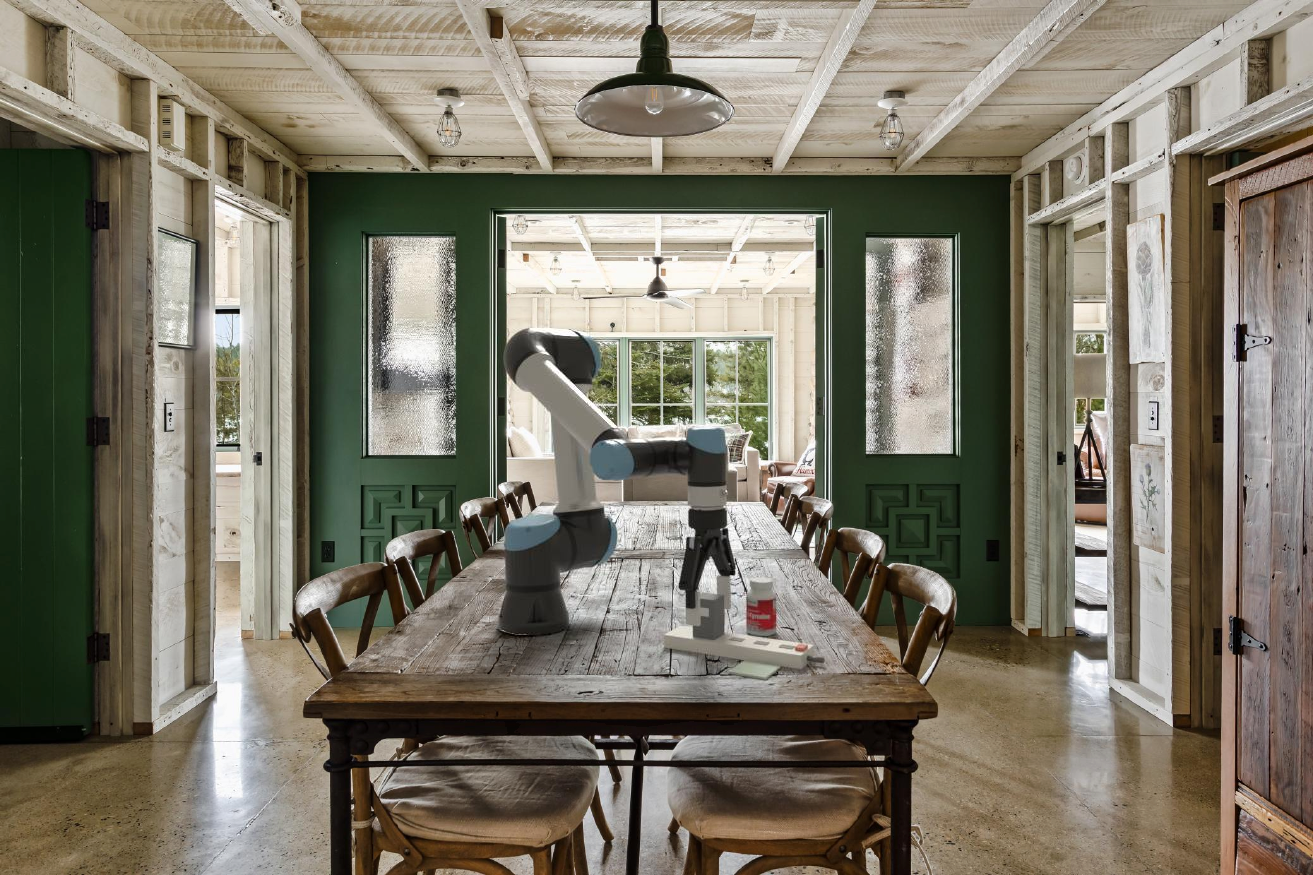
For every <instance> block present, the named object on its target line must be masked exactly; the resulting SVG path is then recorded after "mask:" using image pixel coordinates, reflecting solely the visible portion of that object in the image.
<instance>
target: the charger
mask: <svg viewBox="0 0 1313 875" xmlns="http://www.w3.org/2000/svg"><path fill="white" fill-rule="evenodd" d="M700 620H701V625H700V626H693V625H692V628H693V637H696V638H703V639H709V640H716V639H717V638H719V637H721V636H722V635H724V634H725V632H726V631H725V630H726V629H725V609H724V595H720V594H717V593H711V592H709V593H708V592H700Z"/></svg>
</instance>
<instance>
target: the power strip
mask: <svg viewBox="0 0 1313 875" xmlns="http://www.w3.org/2000/svg"><path fill="white" fill-rule="evenodd" d="M663 648H667V649H673V650H679V651H683V652H684V651H685V652H693V653H698V654H704V655H709V656H716V657H720V658H721V657H722V658H727V659H728V658H729V659H735V660H741V661H744V660H748V661H754V662H760V663H766V664H773V665H779V666H781V667H783V668H784V667H785V668H791V669H795V670H796V669H797V670H802V669H803V668H804V667H806V666H807V665H809V663H810V662H812V663H818V664H825V658H824V657H819V656H815V644H809V643H803V642H796V641H788V640H781V639H776V638H774V639H773V638H769V637H763V636H755V635H749V634H747V635H746V634H740V633H733V632H726V631H725V634H724V635H722V636H721V637H719V638H717V639H716V640H709V639H703V638H696V637H693V626H684V625H679V626H677V627H676V628H674V629H672V630H670V631H668V632H666V633H665V634H663Z"/></svg>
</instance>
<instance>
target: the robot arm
mask: <svg viewBox="0 0 1313 875" xmlns="http://www.w3.org/2000/svg"><path fill="white" fill-rule="evenodd" d="M601 357H602V356H601V351H600V349H599V346H598V344H597V342H596V340H594V338H593V337H591V336H590V335H589V334H588V333H586V332H584V331H578V330H575V329H570V328H569V329H561V328H543V327H542V328H540V327H528V328H527V327H526V328H523V329H521V330H519V331H517V332H516V333H514V334H513V335H512V336H510V338H509V339H508V341H507V343H506V345H505V348H504V351H503V357H502V358H503V366H504V368H505V371H506V373H507V375H508V376H509V379H510V380H511V381H512V382H513V383H514V384H515V386H516V387H518V388H519V389H520V390H522V392H525V393H531V395H532V396H533V397H534V398H535V399H536V400H537V401H538V402H539V403H540V404H541V405H542V406H543V407H544V408H545V409H546V410H547V411H548V412H549V413H550V423H551V435H552V444H553V446H552V447H553V454H554V455H553V456H554V464H555V466H554V467H555V474H556V475H555V476H556V487H557V500H558V503H557V505H556V506H555V507H554V509H553V510H552V514H549V513H548V514H547V513H545V514H544V513H543V514H541V513H540V514H535V515H526V516H522V517H520V518H516V519H514V520H512V521H510V522H509V523H508V524H507V526H506V527H505V530H504V542H503V548H504V572H505V594H504V597H503V601H502V604H501V607H500V612H499V614H498V617H497V627H499V628H500V629H501V630H504V631H506V632H510V633H514V634H527V635H528V634H530V635H536V636H539V635H538V634H545V635H550V634H549V633H551V634H554V633H553V632H555V633H557V632H558V631H559V632H561V631H560V630H562V631H564V630H566V629H567V628H569V627H570V612H569V611H568V609H567V605H566V602H565V599H564V595H563V594H562V588H561V573H566V572H571V571H572V572H573V571H575V570H581V569H584V568H586V569H587V568H593V567H596V566H599V565H602V564H604V563H606V562H607V561H609V559H611V557H612V555H613V554H614V552H616V549H617V545H618V544H617V543H618V538H619V536H618V529H617V526H616V523H615V522H613V518H612V517H611V516H610V515H609V514H607V513H605V505H604V504H602V502H600V501H599V500H598V498H597V492H596V491H597V489H596V479H595V476H596V477H597V478H598V479H600V480H603V481H616V482H617V481H623V480H630V479H638V478H648V477H657V476H665V475H673V476H674V475H677V476H678V475H679V476H680V475H681V476H687V506H689V507H690V508H688V509H687V520H688V521H687V523H688V527H689V528H690V529H693V530H694V535H693V536H686V538H685V551H684V557H683V561H682V566H681V571H680V576H679V579H678V580H679V581H678V589H679V590H680V591H684V594H685V596H684V598H685V604H684V605H685V625H687V626H692V627H693V626H700V625H701V620H700V594H701V590H699V586H700V582H701V579H702V576H703V573H704V570H705V566H706V564H707V561H709V560H710V558H711V559H712V562H713V563H714V566H715V568H716V570H717V572H718V575H716V594H720V595H724V610H731V609H732V590H731V589H732V588H731V580H732V579H731V577H733V576H734V577H735V576H736V574H737V573H736V571H737V570H736V569H737V567H736V563H735V558H734V553H733V550H732V546H731V541H730V536H729V528H728V527H727V526H728V509H727V508H726V507H725V506H727V504H728V503H727V502H728V501H727V499H728V498H727V496H729V491H728V490H727V452H728V449H727V441H726V440H727V439H726V432H725V430H724V429H723V428H722V427H719V426H709V427H708V426H707V427H706V426H702V427H701V426H698V427H697V426H696V427H689V428H688V429H687V431H686V436H683V437H681V436H680V437H677V436H664V435H657V436H655V435H654V436H649V437H645V438H630V437H629V436H628V435H627V434H626V433H625V432H623V431H622V430H621V429H620V428H619V427H618V426H617V425H616V423H614V422H613V420H611V419H610V418H609V417H608V416H607V415H606V414H605V413H604V412H603V411H602V410H601V409H600V408H598V406H596V405H595V404H594V402H593V401H591V400H590V399H589V397H588V394H589V392H590V390H592V388H593V380H594V379H595V378H596V377H597V375H598V374H599V370H600V369H601V364H602V359H601ZM563 629H564V630H563Z"/></svg>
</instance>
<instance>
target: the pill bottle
mask: <svg viewBox="0 0 1313 875" xmlns="http://www.w3.org/2000/svg"><path fill="white" fill-rule="evenodd" d="M773 584H774V582H773V579H772V578H769V577H752V578H750V579H749V587H750V588H749V589H748V590H747V592H746V599H745V601H746V603H745V604H746V606H745V607H746V608H745V609H746V612H745V614H746V621H745V622H746V623H745V624H746V632H747V634H748V635H750V636H755V637H769V636H773V635H775V634H776V633H777V592H776V591H775V590H774V589H773V586H774V585H773Z"/></svg>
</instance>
